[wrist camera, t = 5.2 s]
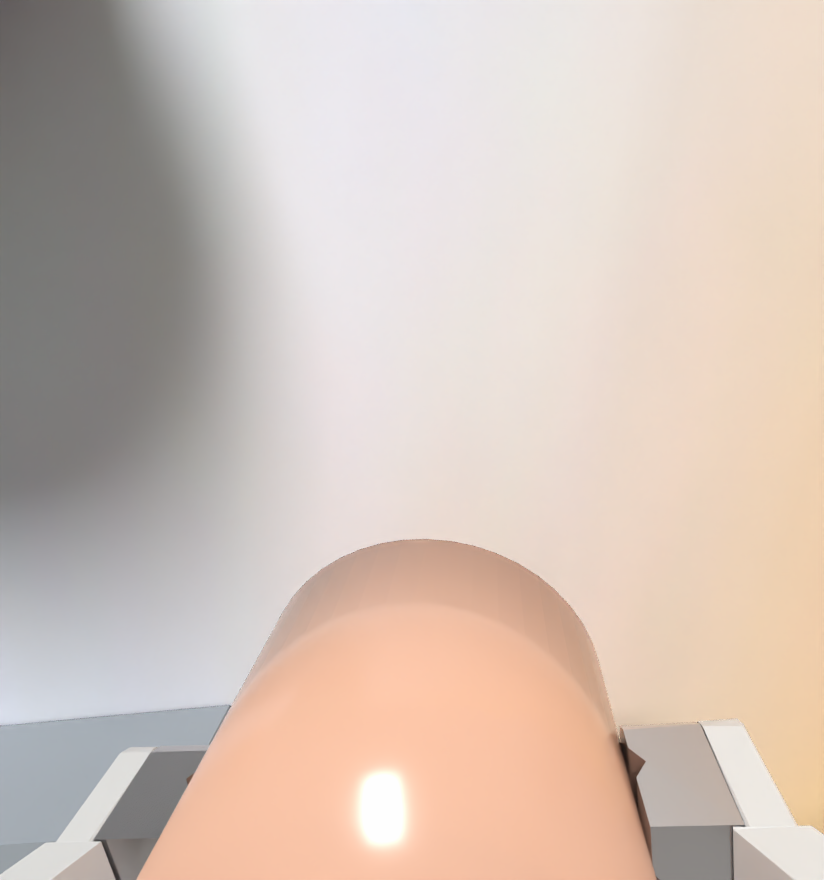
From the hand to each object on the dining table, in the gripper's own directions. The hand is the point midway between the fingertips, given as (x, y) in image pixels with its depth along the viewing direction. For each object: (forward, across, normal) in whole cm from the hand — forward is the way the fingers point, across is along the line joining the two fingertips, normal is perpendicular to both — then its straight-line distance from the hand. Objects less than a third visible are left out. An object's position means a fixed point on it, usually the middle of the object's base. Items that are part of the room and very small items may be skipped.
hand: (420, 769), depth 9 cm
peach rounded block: (+2, 0, 0) cm, 2 cm away
